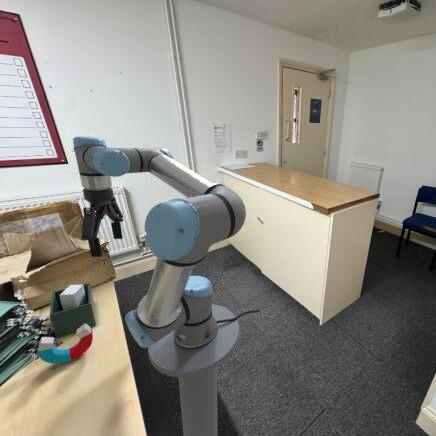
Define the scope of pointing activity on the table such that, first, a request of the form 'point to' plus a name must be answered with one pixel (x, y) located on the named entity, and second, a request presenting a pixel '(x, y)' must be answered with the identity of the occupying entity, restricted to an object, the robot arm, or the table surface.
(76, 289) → the cosmetic box
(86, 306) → the bin
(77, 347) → the magnet
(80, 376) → the table surface
